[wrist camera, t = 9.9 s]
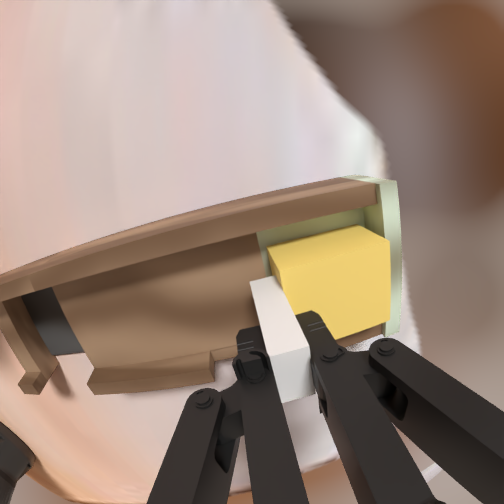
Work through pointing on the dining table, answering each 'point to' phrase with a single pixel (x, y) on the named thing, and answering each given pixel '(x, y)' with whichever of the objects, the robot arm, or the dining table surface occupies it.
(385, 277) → the block
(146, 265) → the box
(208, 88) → the dining table surface
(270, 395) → the robot arm
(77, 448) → the dining table surface
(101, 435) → the dining table surface
